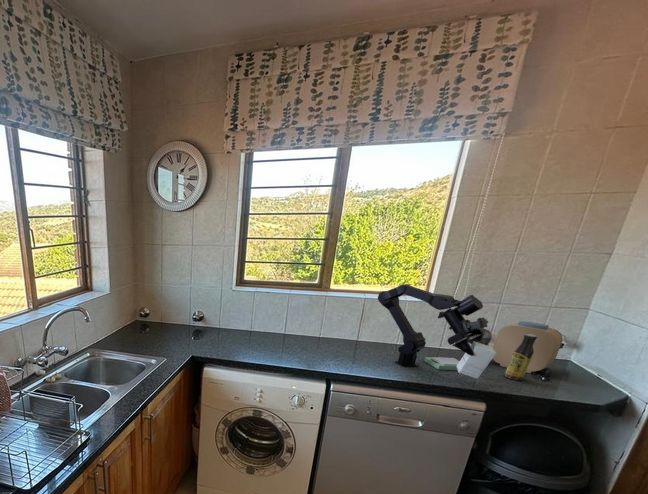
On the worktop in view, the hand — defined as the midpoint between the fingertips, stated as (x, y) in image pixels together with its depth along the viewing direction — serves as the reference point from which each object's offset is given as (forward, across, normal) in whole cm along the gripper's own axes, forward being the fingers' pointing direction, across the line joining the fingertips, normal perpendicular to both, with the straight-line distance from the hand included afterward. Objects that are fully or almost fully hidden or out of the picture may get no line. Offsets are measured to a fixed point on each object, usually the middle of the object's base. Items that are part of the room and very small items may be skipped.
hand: (478, 353), depth 166 cm
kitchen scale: (-2, +15, +21) cm, 26 cm away
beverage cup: (0, +39, +20) cm, 43 cm away
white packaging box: (+5, 0, +8) cm, 9 cm away
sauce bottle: (+14, +24, +5) cm, 29 cm away
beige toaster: (+11, +42, +8) cm, 44 cm away
